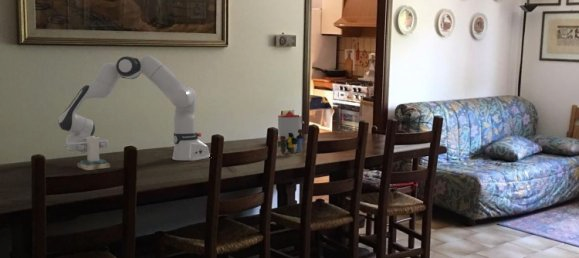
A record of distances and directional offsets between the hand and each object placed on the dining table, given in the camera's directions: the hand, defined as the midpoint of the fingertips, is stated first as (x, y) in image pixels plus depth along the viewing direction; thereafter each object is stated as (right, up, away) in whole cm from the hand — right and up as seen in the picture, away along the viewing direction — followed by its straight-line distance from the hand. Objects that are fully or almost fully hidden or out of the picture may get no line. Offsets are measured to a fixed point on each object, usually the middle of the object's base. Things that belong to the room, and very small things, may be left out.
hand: (93, 146), depth 302 cm
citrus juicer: (+99, 0, +89) cm, 134 cm away
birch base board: (0, -10, +2) cm, 11 cm away
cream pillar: (0, -8, +2) cm, 9 cm away
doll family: (+100, -5, +42) cm, 108 cm away
